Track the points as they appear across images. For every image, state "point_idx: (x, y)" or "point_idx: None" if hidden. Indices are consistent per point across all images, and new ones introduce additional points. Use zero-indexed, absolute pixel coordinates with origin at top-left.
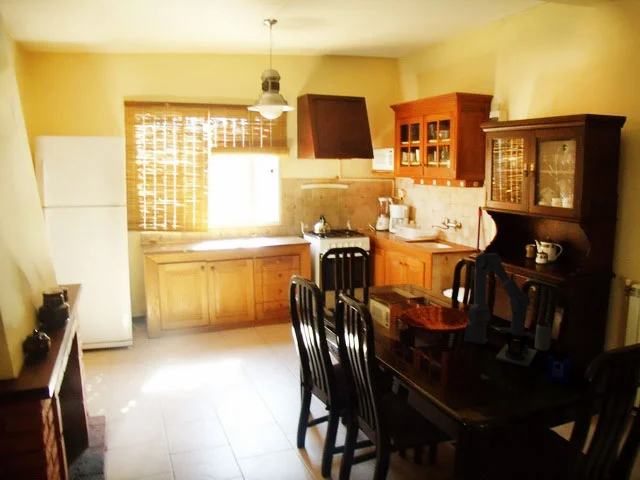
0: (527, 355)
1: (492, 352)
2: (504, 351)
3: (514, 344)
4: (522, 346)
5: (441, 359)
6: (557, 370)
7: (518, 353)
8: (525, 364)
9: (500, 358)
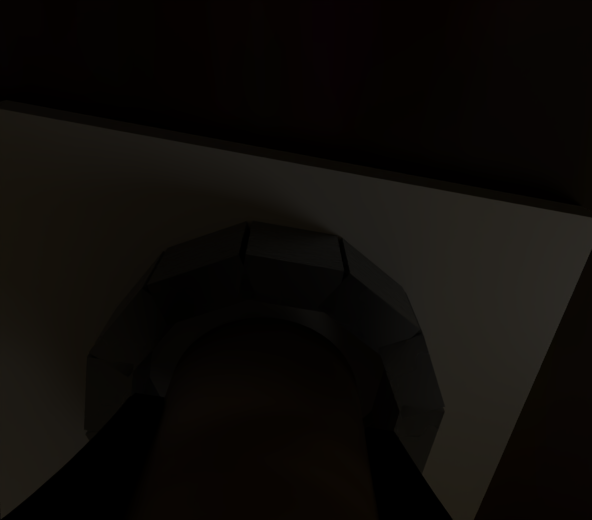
0: None
1: (584, 454)
2: None
3: (283, 507)
4: (50, 490)
5: None
6: None
7: (191, 364)
8: (52, 117)
9: (515, 203)
